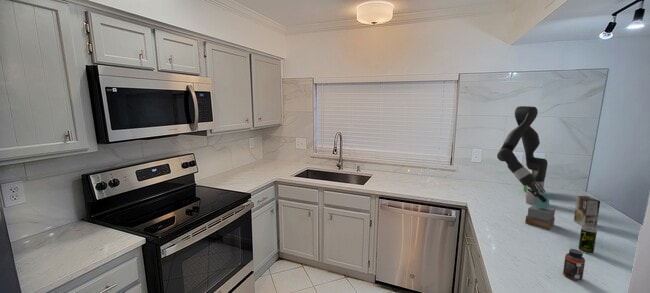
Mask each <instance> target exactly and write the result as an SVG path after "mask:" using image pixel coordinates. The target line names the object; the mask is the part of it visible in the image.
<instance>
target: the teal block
mask: <svg viewBox="0 0 650 293" xmlns="http://www.w3.org/2000/svg"><path fill="white" fill-rule="evenodd" d="M540 193H541V194H542V196H543V197H544V198H545V199H546V200H547V201H546V202H542V201H541V200H540V199H539V198H538V197H536V204H535V206H536V207H540V208H544V209H546V208H550V207H549V206H550V198H551V193H548V192H545V193H544V192H540Z"/></svg>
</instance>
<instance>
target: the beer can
mask: <svg viewBox="0 0 650 293" xmlns="http://www.w3.org/2000/svg"><path fill="white" fill-rule="evenodd" d="M597 233H598V230H597V227H596V228H594V227H591V226H582V225H581V227H580V234H579V242H578V250H579V251H580V250H581V251H583V252H582V253H584V252H586V253H585V254H587V253H593V254H594V252H595V245H596V239H597Z"/></svg>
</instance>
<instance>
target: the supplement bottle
mask: <svg viewBox="0 0 650 293" xmlns="http://www.w3.org/2000/svg"><path fill="white" fill-rule="evenodd" d="M583 254H584V252H581V251H580V250H579V249H575V248H570V249H569V251H568V252H566V254H565V256H564V262H563V270H562V271H563V272H562V274H563V275H564V276H565V277H566V278H568V279H570V280H573V281H577V280H580V281H582V280H583V277H584V270H585V264H586V259H585V257H583Z"/></svg>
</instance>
